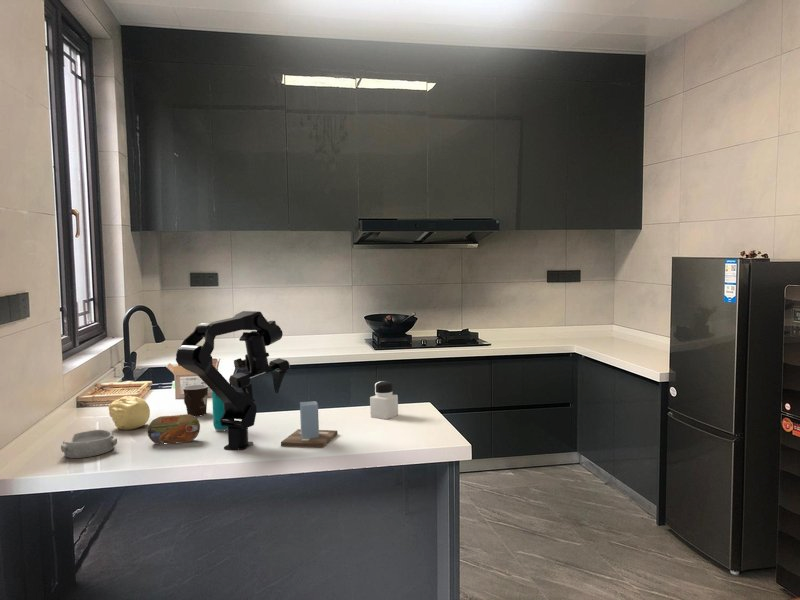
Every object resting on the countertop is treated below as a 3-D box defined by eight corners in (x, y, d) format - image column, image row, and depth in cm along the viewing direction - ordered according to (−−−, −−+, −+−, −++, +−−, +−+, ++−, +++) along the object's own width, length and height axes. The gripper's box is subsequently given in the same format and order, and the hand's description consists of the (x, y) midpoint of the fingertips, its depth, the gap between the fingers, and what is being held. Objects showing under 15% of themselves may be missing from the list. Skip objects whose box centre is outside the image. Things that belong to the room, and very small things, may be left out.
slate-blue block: (302, 439, 184) (301, 405, 184) (300, 434, 189) (299, 402, 188) (319, 437, 185) (317, 404, 185) (317, 433, 190) (316, 401, 190)
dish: (60, 462, 172) (59, 445, 172) (65, 449, 185) (64, 432, 184) (117, 455, 178) (116, 438, 177) (118, 442, 190) (117, 426, 190)
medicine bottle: (398, 415, 215) (397, 381, 215) (387, 419, 209) (386, 384, 209) (381, 412, 219) (380, 379, 218) (370, 417, 213) (369, 383, 212)
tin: (148, 445, 186) (146, 418, 185) (150, 442, 189) (148, 415, 188) (200, 441, 189) (198, 414, 188) (201, 438, 192) (200, 412, 191)
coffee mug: (199, 410, 229) (198, 383, 229) (214, 413, 224) (213, 386, 224) (172, 417, 220) (170, 389, 219) (186, 420, 215) (185, 392, 214)
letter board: (323, 447, 179) (322, 443, 179) (281, 446, 182) (280, 441, 182) (337, 434, 193) (337, 430, 193) (298, 432, 195) (298, 429, 195)
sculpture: (104, 430, 205) (102, 398, 204) (134, 421, 215) (133, 390, 215) (127, 433, 200) (125, 400, 199) (157, 424, 210) (156, 393, 209)
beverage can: (225, 426, 206) (223, 381, 205) (235, 428, 202) (233, 383, 201) (210, 430, 201) (208, 384, 200) (220, 432, 198) (218, 386, 197)
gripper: (267, 338, 201) (274, 383, 205) (215, 356, 188) (224, 403, 192) (287, 343, 193) (294, 390, 197) (234, 361, 181) (243, 411, 184)
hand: (264, 398), depth 193 cm, fingers open, 9 cm apart
